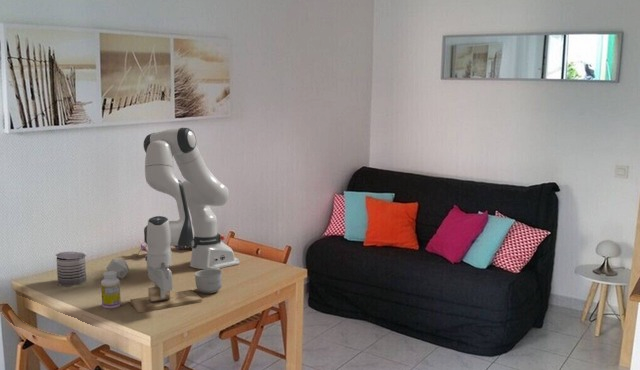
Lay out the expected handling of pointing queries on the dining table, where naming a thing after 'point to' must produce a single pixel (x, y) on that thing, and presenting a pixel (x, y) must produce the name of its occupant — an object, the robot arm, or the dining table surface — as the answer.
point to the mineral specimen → (183, 246)
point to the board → (166, 301)
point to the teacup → (208, 280)
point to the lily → (142, 247)
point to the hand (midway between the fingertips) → (160, 295)
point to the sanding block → (157, 294)
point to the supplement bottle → (110, 290)
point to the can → (71, 268)
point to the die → (118, 267)
